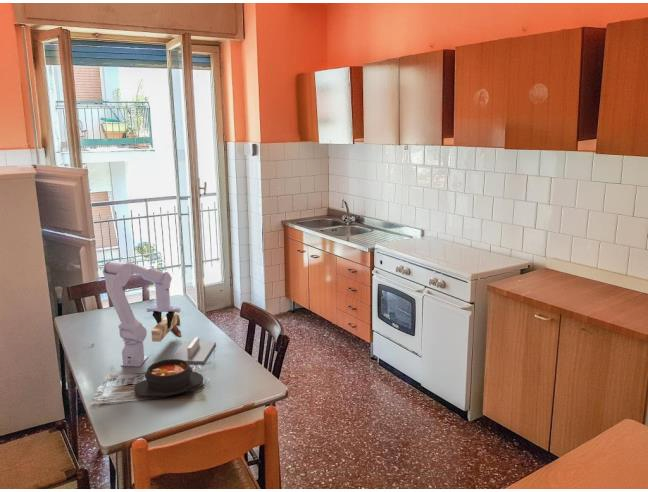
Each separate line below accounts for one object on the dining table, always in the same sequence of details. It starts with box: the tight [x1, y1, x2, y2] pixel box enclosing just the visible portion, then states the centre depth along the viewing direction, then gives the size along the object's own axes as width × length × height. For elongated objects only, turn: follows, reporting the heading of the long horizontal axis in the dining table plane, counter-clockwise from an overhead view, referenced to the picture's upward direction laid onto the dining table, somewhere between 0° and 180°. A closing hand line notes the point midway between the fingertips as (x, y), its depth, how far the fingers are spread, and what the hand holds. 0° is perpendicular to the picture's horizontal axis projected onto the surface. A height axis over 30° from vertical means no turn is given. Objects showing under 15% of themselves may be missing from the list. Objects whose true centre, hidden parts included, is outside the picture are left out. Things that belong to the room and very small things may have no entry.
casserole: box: [133, 358, 204, 397], centre depth 201 cm, size 25×19×8 cm
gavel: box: [161, 313, 182, 337], centre depth 258 cm, size 21×5×10 cm
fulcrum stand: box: [170, 336, 217, 365], centre depth 231 cm, size 20×14×5 cm
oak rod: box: [150, 312, 178, 343], centre depth 238 cm, size 22×4×5 cm, turn 177°
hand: (164, 327), depth 238 cm, fingers closed on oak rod, 3 cm apart
